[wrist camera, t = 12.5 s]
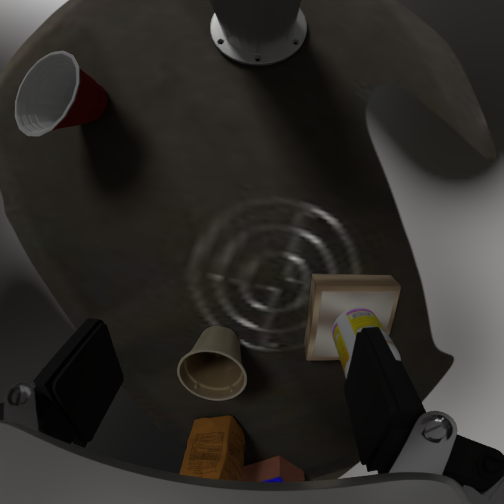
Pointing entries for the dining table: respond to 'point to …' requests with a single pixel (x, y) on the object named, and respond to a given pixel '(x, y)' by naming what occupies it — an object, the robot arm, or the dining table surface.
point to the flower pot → (214, 365)
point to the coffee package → (215, 449)
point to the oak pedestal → (345, 307)
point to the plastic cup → (57, 96)
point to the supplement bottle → (348, 329)
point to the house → (272, 471)
